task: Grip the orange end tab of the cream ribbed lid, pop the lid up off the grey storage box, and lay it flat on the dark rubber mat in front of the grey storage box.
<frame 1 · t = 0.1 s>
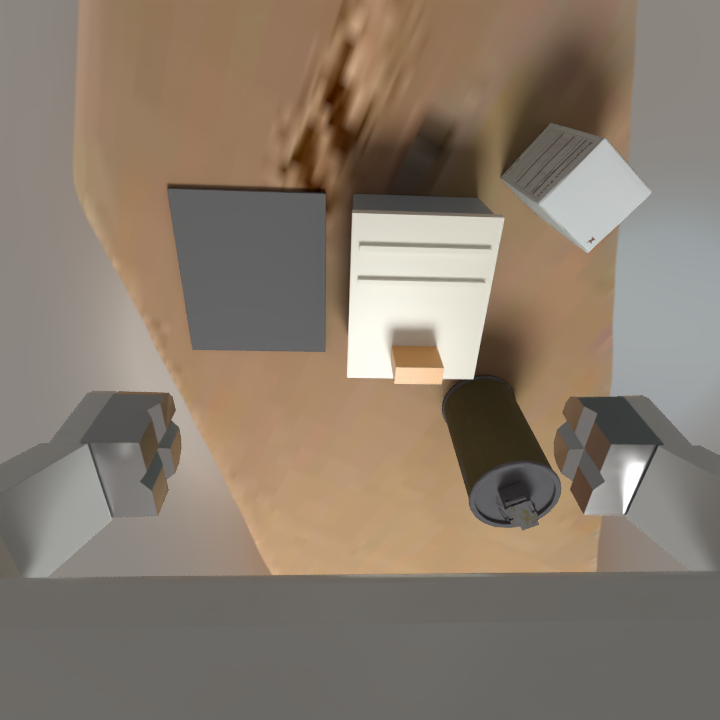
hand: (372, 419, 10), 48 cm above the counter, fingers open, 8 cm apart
mat: (254, 276, 59), on the counter
supplement box: (544, 171, 54), on the counter
canister: (478, 405, 71), on the counter
lid: (417, 299, 53), point 8 cm above the counter, touching grey storage box
grey storage box: (408, 272, 59), on the counter
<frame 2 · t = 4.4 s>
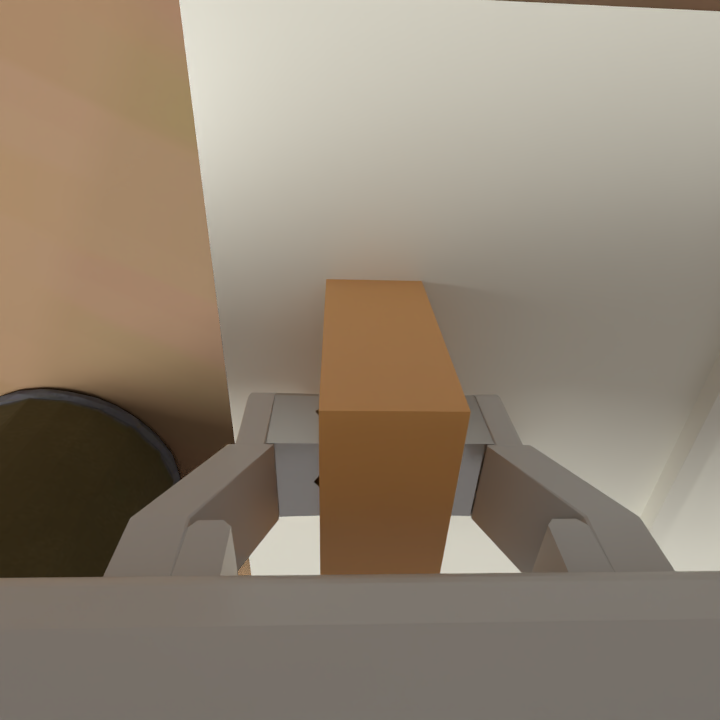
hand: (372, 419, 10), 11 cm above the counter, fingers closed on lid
canister: (74, 470, 25), on the counter
lid: (594, 356, 13), point 8 cm above the counter, touching gripper, grey storage box
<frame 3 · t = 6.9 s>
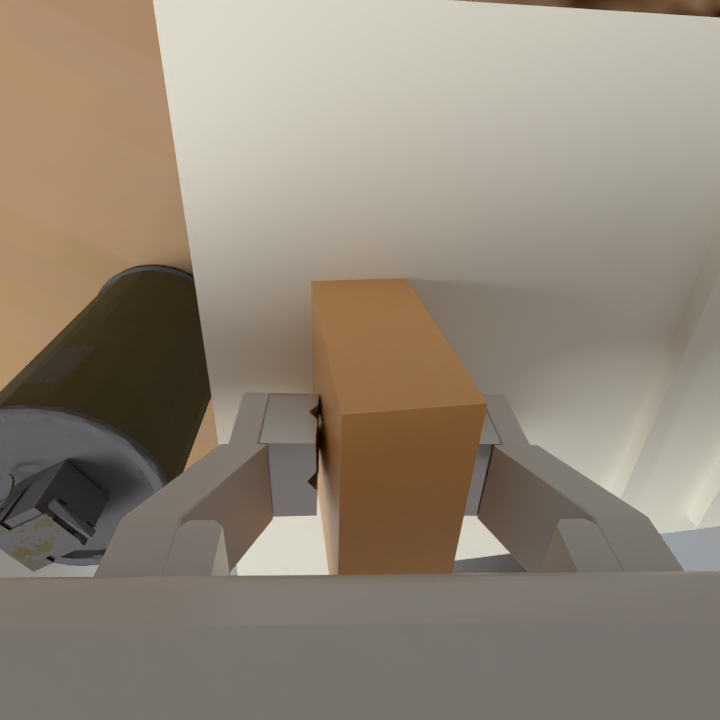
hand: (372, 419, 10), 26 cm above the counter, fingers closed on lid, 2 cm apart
canister: (163, 328, 39), on the counter
lid: (563, 341, 14), point 23 cm above the counter, tilted 7°, touching gripper
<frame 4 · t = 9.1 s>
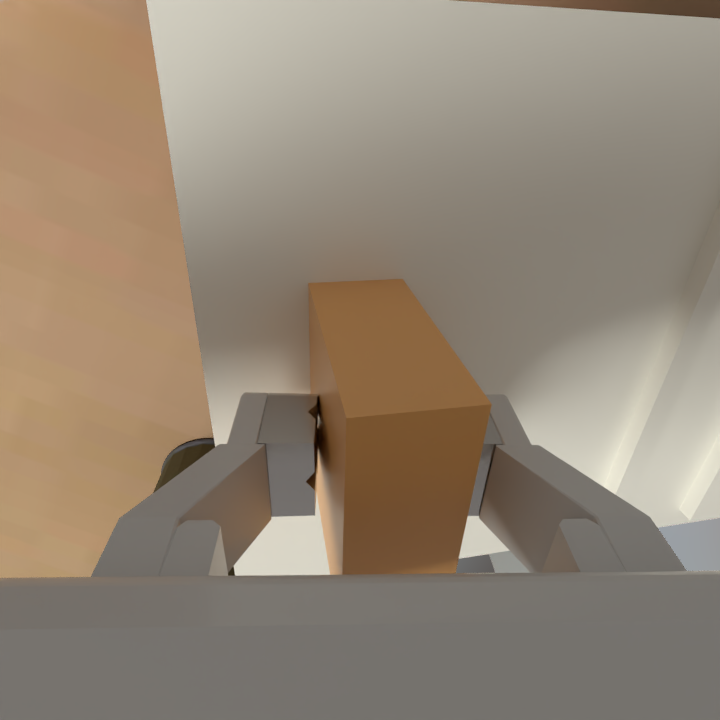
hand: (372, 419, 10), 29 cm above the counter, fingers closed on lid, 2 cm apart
supplement box: (517, 489, 53), on the counter
canister: (213, 476, 50), on the counter
lid: (557, 339, 14), point 25 cm above the counter, tilted 9°, touching gripper
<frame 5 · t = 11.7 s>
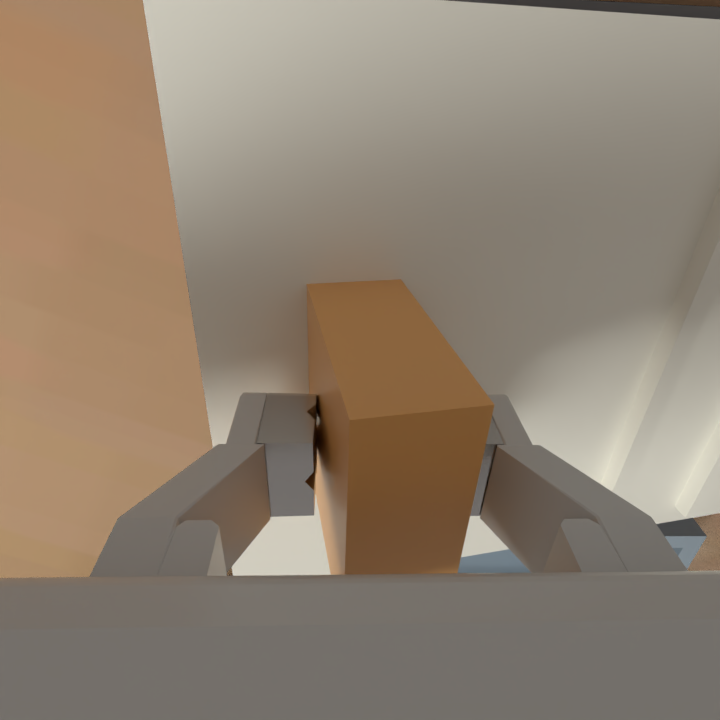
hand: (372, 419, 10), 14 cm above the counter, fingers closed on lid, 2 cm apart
mat: (488, 226, 23), on the counter
lid: (554, 338, 14), point 11 cm above the counter, tilted 10°, touching gripper
grey storage box: (454, 506, 32), on the counter
when the fingers open (6 cm above the counter, at t = 14.0 s): lid drops 1 cm, resting on mat.
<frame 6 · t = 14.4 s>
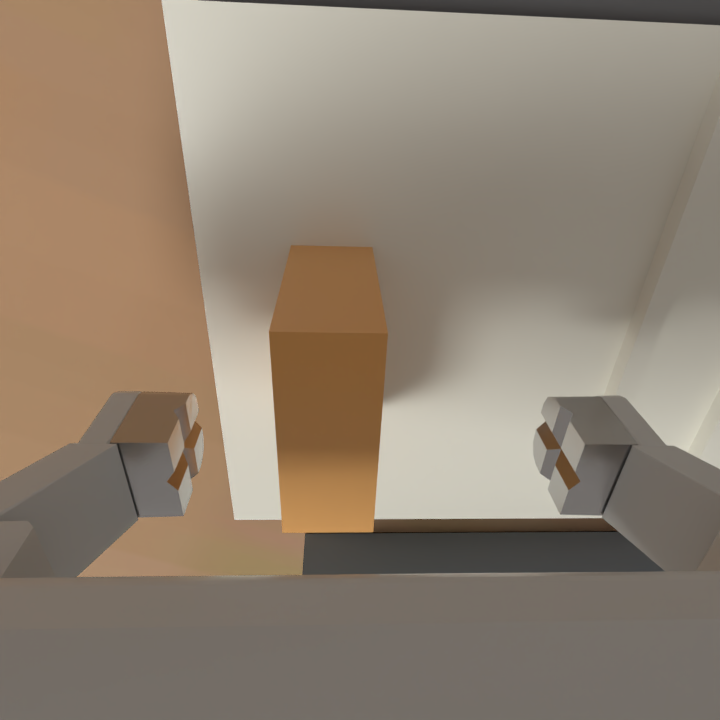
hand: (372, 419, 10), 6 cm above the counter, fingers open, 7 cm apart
mat: (542, 296, 16), on the counter
lid: (532, 319, 15), point 2 cm above the counter, touching mat
grey storage box: (480, 622, 26), on the counter
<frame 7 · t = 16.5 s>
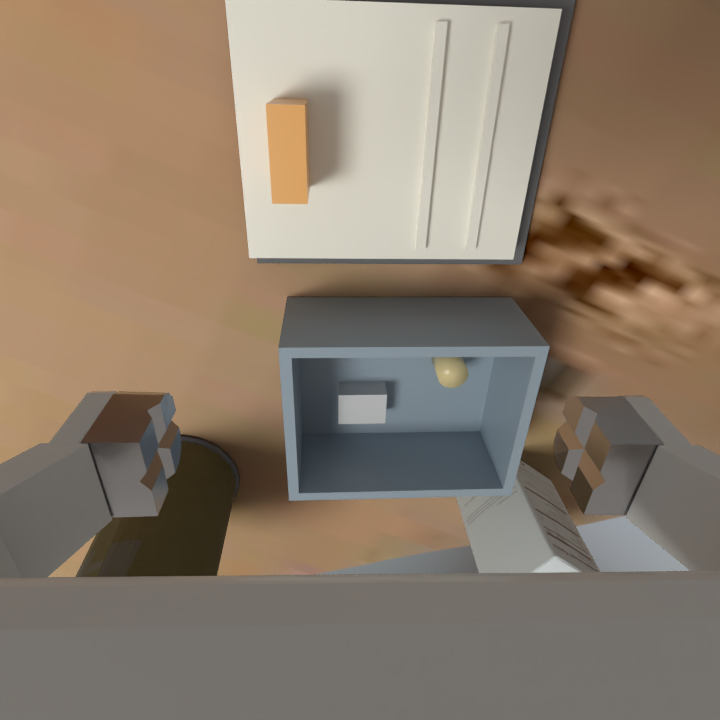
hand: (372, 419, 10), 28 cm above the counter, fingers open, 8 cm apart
mat: (398, 139, 33), on the counter
supplement box: (501, 482, 51), on the counter
canister: (183, 475, 48), on the counter
lid: (387, 143, 32), point 2 cm above the counter, touching mat
grey storage box: (395, 371, 43), on the counter
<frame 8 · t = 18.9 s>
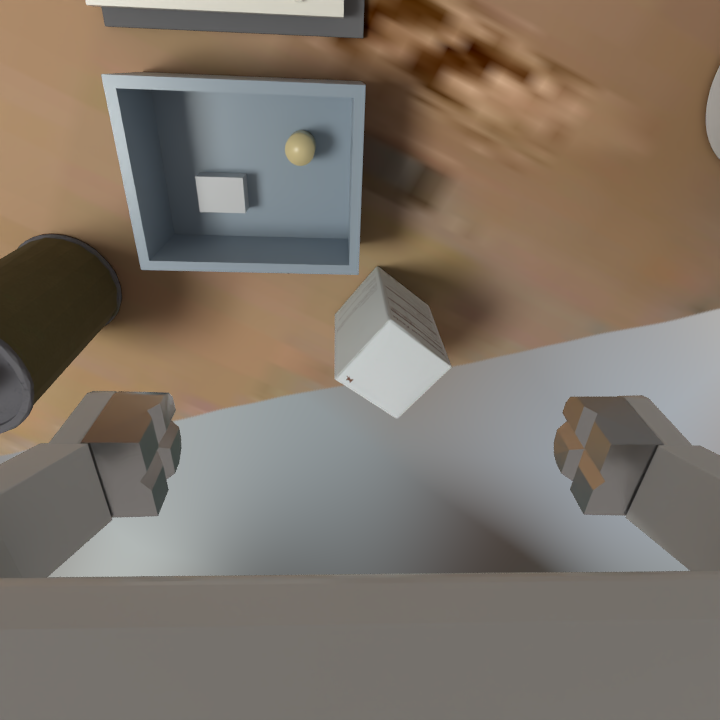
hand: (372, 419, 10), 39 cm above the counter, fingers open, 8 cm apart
supplement box: (381, 308, 52), on the counter
canister: (67, 284, 50), on the counter
grey storage box: (258, 166, 44), on the counter
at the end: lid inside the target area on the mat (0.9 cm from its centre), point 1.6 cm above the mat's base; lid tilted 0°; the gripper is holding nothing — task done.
